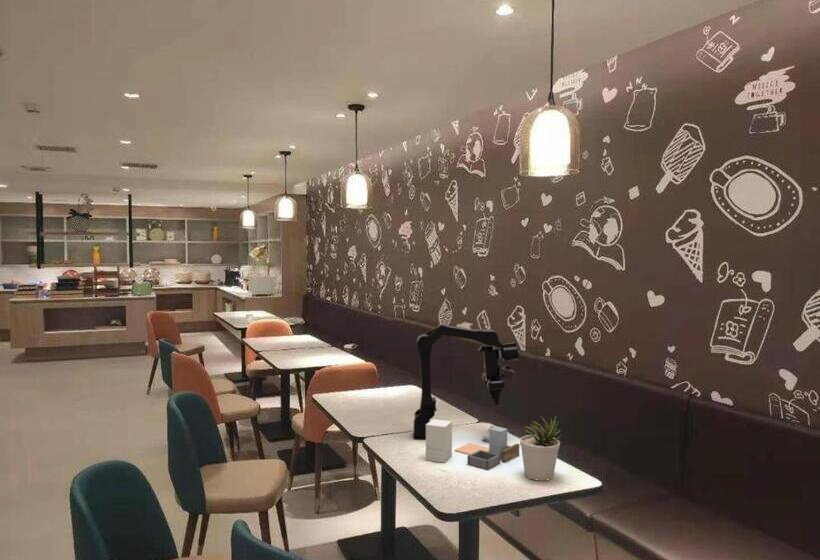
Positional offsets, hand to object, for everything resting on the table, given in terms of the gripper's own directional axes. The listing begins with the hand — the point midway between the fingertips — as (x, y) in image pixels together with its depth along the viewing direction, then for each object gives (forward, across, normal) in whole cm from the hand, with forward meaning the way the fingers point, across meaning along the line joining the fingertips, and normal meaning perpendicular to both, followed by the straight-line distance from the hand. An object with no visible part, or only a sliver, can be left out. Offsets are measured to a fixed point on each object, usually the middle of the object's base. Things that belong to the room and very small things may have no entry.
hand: (494, 401), depth 228 cm
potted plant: (+15, -39, -8) cm, 43 cm away
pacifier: (+14, -3, +3) cm, 15 cm away
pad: (+13, -15, +11) cm, 23 cm away
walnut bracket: (+14, -21, +2) cm, 25 cm away
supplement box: (+12, -24, +24) cm, 36 cm away
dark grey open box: (+13, -29, +9) cm, 33 cm away
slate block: (+14, -21, +3) cm, 26 cm away
